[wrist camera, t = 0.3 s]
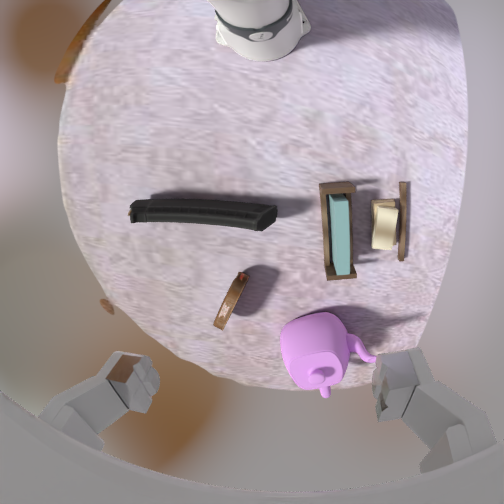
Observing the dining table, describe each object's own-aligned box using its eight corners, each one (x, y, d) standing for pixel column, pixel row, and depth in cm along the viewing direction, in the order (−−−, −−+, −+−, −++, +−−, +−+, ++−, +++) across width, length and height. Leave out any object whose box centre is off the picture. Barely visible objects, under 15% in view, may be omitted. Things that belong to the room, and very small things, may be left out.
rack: (318, 183, 51) (321, 189, 45) (403, 179, 47) (415, 184, 42) (324, 267, 57) (327, 280, 52) (401, 260, 54) (410, 272, 48)
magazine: (288, 217, 45) (111, 221, 41) (287, 235, 46) (113, 239, 42) (268, 195, 61) (136, 198, 56) (267, 209, 62) (137, 212, 58)
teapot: (297, 372, 71) (295, 414, 58) (273, 317, 65) (266, 361, 51) (375, 352, 65) (386, 394, 51) (364, 292, 58) (379, 333, 45)
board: (328, 192, 51) (333, 201, 44) (340, 192, 51) (348, 200, 43) (332, 257, 56) (336, 275, 49) (343, 256, 56) (349, 274, 49)
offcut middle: (371, 202, 49) (373, 203, 48) (392, 199, 48) (394, 201, 47) (374, 244, 53) (376, 247, 51) (394, 241, 52) (396, 244, 50)
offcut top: (377, 205, 48) (379, 207, 47) (396, 208, 48) (398, 209, 46) (371, 245, 51) (372, 248, 50) (389, 247, 51) (391, 250, 50)
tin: (229, 316, 67) (221, 338, 59) (218, 311, 67) (208, 333, 59) (253, 269, 60) (246, 289, 53) (240, 263, 60) (231, 282, 53)
